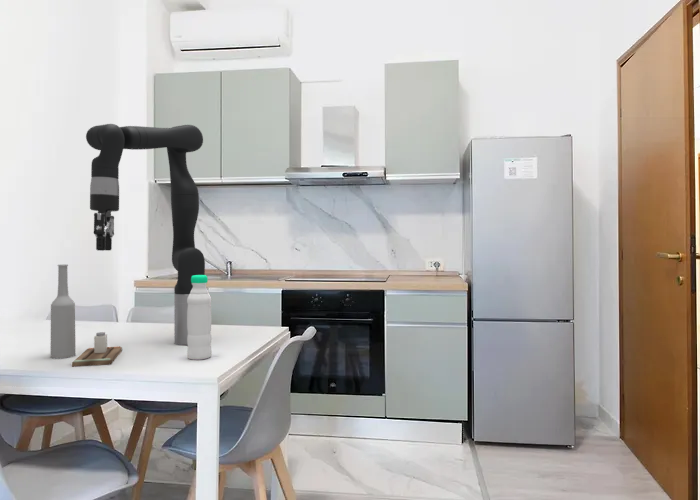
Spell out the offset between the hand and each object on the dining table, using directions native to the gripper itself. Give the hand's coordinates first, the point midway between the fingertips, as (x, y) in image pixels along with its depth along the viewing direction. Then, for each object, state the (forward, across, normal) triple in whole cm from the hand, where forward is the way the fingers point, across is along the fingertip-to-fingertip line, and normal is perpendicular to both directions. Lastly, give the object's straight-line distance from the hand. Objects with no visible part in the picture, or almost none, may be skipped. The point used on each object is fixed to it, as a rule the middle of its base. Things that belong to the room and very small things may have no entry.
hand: (104, 250), depth 140 cm
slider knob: (+31, +9, +3) cm, 33 cm away
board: (+32, +6, +2) cm, 33 cm away
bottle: (+33, +12, +14) cm, 38 cm away
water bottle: (+32, 0, -27) cm, 42 cm away
